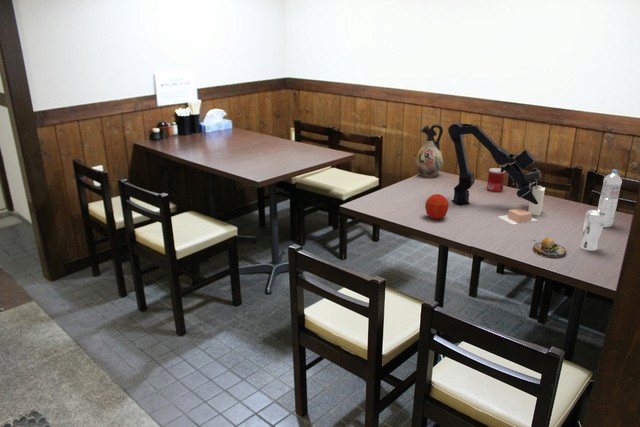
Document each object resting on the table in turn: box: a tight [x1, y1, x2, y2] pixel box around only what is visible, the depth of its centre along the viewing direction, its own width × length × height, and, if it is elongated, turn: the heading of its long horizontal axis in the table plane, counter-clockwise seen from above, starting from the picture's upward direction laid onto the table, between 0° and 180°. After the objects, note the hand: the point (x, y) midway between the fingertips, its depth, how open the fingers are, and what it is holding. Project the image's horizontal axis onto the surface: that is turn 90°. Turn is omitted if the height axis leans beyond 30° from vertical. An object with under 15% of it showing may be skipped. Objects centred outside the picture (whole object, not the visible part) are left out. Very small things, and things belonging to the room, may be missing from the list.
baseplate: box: [497, 214, 538, 225], centre depth 229 cm, size 14×10×1 cm
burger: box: [532, 237, 567, 259], centre depth 199 cm, size 12×12×8 cm
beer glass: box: [579, 209, 606, 252], centre depth 200 cm, size 7×7×15 cm
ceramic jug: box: [414, 123, 444, 178], centre depth 289 cm, size 17×15×30 cm
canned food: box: [486, 167, 506, 193], centre depth 267 cm, size 8×8×11 cm
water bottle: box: [597, 169, 623, 229], centre depth 220 cm, size 7×7×25 cm
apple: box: [424, 193, 450, 220], centre depth 231 cm, size 10×10×12 cm
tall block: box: [527, 185, 546, 216], centre depth 233 cm, size 5×5×14 cm
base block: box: [507, 207, 533, 224], centre depth 227 cm, size 7×7×4 cm
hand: (538, 200), depth 233 cm, fingers open, 9 cm apart
